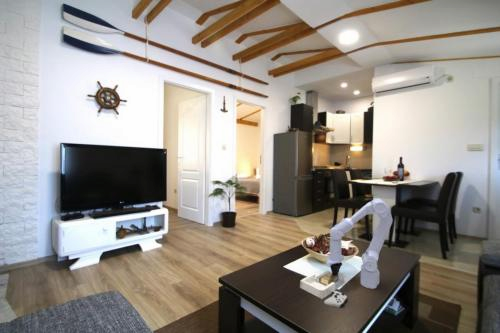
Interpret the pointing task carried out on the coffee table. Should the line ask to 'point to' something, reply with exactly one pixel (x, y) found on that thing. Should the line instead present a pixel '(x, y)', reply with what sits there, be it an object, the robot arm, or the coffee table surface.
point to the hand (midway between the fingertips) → (334, 276)
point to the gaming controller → (336, 299)
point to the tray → (316, 287)
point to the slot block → (338, 281)
